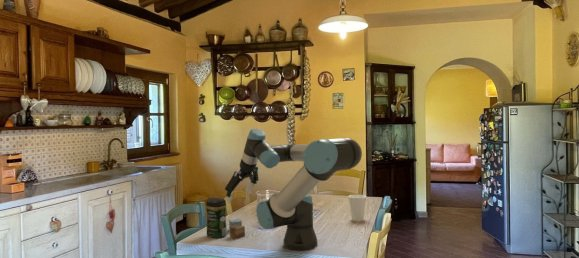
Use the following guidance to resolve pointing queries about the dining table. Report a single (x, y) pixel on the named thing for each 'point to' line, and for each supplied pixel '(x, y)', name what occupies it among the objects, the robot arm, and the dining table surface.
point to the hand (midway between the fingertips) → (238, 197)
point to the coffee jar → (216, 217)
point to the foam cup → (357, 207)
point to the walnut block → (237, 231)
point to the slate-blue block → (234, 223)
